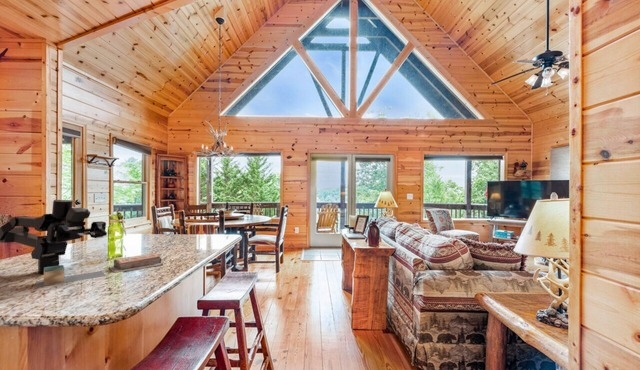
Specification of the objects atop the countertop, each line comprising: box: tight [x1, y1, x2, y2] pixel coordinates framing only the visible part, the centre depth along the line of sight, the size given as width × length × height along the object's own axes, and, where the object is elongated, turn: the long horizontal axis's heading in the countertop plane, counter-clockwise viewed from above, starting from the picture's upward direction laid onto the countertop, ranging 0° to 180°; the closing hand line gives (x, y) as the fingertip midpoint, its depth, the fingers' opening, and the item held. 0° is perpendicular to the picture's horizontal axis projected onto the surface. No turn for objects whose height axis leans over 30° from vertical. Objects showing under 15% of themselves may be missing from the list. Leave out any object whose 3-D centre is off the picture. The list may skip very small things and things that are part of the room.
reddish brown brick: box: [108, 253, 164, 273], centre depth 125 cm, size 18×5×10 cm
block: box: [43, 264, 65, 285], centre depth 104 cm, size 5×5×5 cm
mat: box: [35, 270, 107, 289], centre depth 108 cm, size 19×9×1 cm, turn 136°
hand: (93, 235), depth 108 cm, fingers open, 9 cm apart
